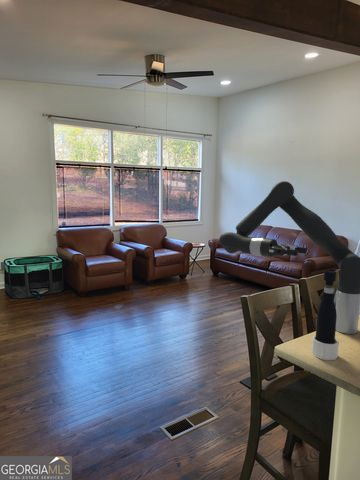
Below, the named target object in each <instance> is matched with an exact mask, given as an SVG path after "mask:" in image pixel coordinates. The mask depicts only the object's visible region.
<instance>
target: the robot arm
mask: <svg viewBox="0 0 360 480" xmlns="http://www.w3.org/2000/svg"><path fill="white" fill-rule="evenodd" d="M294 193H295V189H294V186H293V184H292V183H291V182H289V181H283V180H282V181H278V182H277V183H275V184H274V185H273V187H272V188H271V190H270V192H269V193H268V195H267V196H266V197H265V198H264V199H263V200H262V201H261V202H260V203H259V204H258V205H257V206H256V207H254V209H252V210H251V211H250V212H249V213H248V214H247V215H246V216H245V217H244V218H242V220H241V221H239V223H238V224H237V225H236V226H235V230H236V232H231V231H227V232H224V233H222V234H221V235H220V236H219V240H218V241H219V244H220V245H221V247H222V248H223V249H224V250H225V251H226V252H227V253H228V254H235V253H237V252H241V253H243V254H250V255H254V256H258V257H264V258H274V257H275V256H281V257H283V256H284V257H285V256H293V257H298V255H299V254H307V253H308V247H303V246H301V247H300V246H299V245H297V244H296V245H293V244H287V243H280V244H279V243H278V241H277V240H276V239H275V238H268V237H251V236H250V235H252V234H253V232H254V231H256V230H257V228H259V227H260V225H261V224H262V223H263V222H264V221H265V220H267V218H269V216H270V215H271V214H272V213H273V212H274V211H276V210H277V209H278V208H280V209H281V210H282V211H284V212H285V213H286V214H287V215H288V216H289V217H290V218H291V219H292V220H293V222H294V223H295V224H296V225H297V226H298V228H300V229H301V231H302V232H303V233H304V234H305V235H306V237H308V238H309V239H310V240H311V241H312V242H313V243H314V244H316V245H317V246H318V248H319V247H320V249H322V250H323V251H324V252H326V253H327V254H328V255H329V256H330V257H331V259H332V260H333V261H334V263H336V265H337V266H338V268H339V277H338V278H339V279H338V283H337V289H336V298H335V299H336V301H335V307H336V313H337V319H336V331H337V332H339V333H342V334H348V335H355V334H357V333H358V330H359V319H360V256H359V255H357V254H356V253H354V252H353V251H352V250H351V249H350V248H348V247H347V246H346V245H345V244H344V243H342V241H341V240H340V239H339V238H338V236H337V235H336V233H335V232H334V231H333V229H332V228H331V227H330V226H329V224H327V222H325V220H324V219H322V217H320V215H318V214H317V213H315V212H314V211H312V210H311V209H309V208H308V207H306V206H305V205H304V204H302V203H301V202H300V201H299V200H298V199H297V198H296V196H295V194H294ZM336 331H335V332H336Z"/></svg>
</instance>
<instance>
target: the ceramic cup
mask: <svg viewBox="0 0 360 480" xmlns="http://www.w3.org/2000/svg"><path fill="white" fill-rule="evenodd" d="M315 339H316V334H315V335H313V336H312V341H311V353H312V356H314V357H315V358H317V359H320V360H323V361H335V360H337V359H338V356H339V346H340V345H339V344H340V341H339V340H338V339H337V338H335V344H325V343H321V342H318V341H317V340H315Z"/></svg>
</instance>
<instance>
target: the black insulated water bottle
mask: <svg viewBox="0 0 360 480" xmlns="http://www.w3.org/2000/svg"><path fill="white" fill-rule="evenodd" d="M323 273H324V274H323V280H324V281H325V285H324V287H323V291H322V299H321V302H320V304H319V306H318V308H317V314H316V326H315V335H316V339H315V340H317V341H318V342H321V343H325V344H335V339H336V319H337V313H336V302H335V292H334V291H335V287H334V282H336V281H337V280H336V279H337V271H335V270H330V269H329V270H328V269H326V270H324V272H323Z"/></svg>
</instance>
